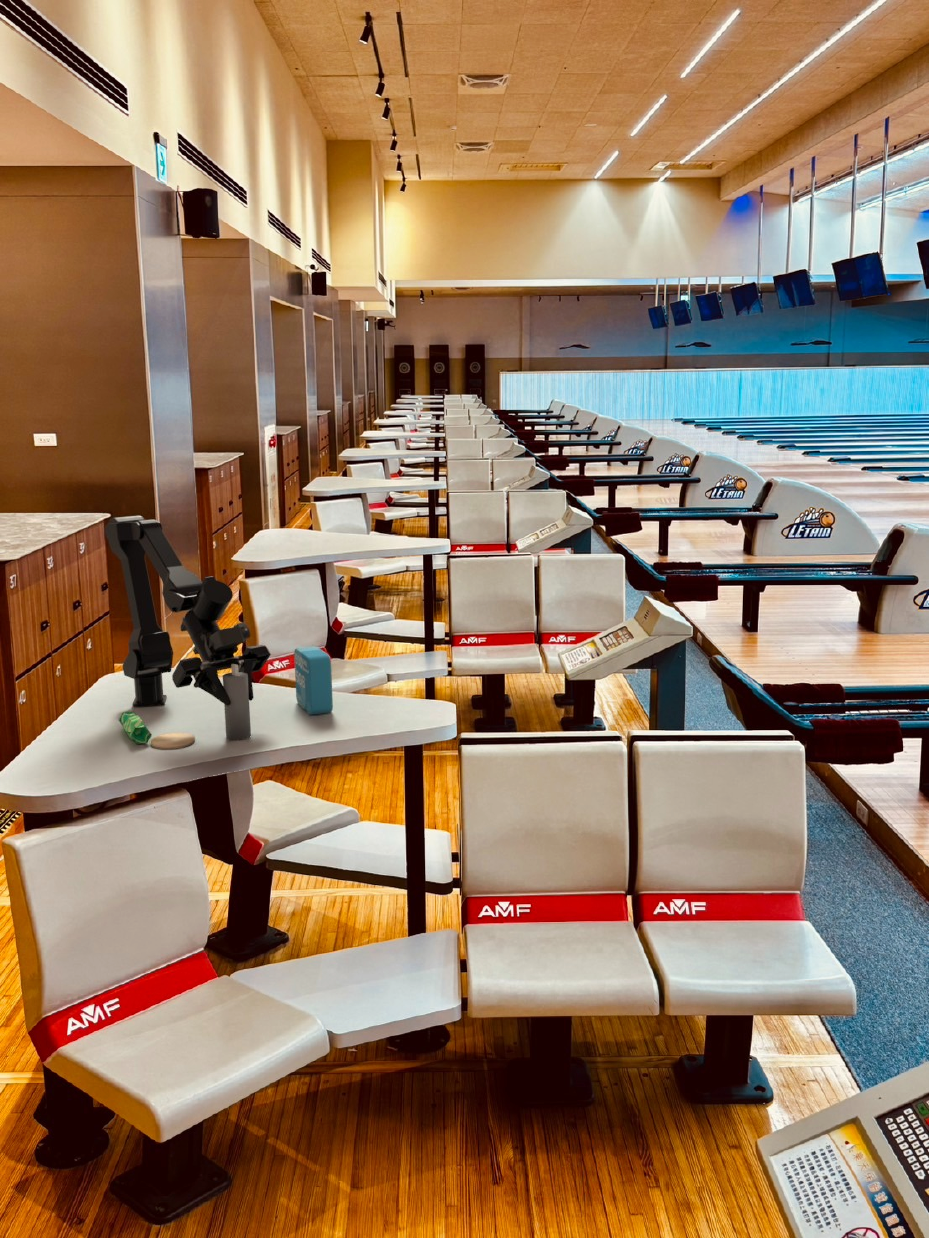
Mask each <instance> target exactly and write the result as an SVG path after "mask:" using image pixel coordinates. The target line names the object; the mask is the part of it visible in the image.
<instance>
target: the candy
mask: <svg viewBox="0 0 929 1238" xmlns="http://www.w3.org/2000/svg"><path fill="white" fill-rule="evenodd" d="M118 722H119V723H120V724H121V725H122V727H123V729H124V731H125V732H126V733H127V735H128V737H129V738H130V739H131V740H133V742H134V743H135V744H136V745H143V744H148V742H149V741H150V739H151V737H152V733H151V731H150V730H149V729H148V728H147V726H146V724H145V723H144V722H143V720H142V718H141V717H140V716H139V715H137V714H136V713H135V712H134V711H123V712H122V713H121V716H120V717H119V719H118Z"/></svg>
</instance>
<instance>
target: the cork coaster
mask: <svg viewBox="0 0 929 1238" xmlns="http://www.w3.org/2000/svg"><path fill="white" fill-rule="evenodd" d="M195 742H196V738H195V735H193V734H191V733H187V732H186V733H185V732H172V733H163V734H161V735H157V736H155V737H153V738H152V739H151V740H150V745H151V747H152V748H154V749H155V748H156V749H159V750H160V749H161V750H173V749H181V748H185V747H188V746H190V745H193V744H194V743H195Z"/></svg>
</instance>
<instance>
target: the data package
mask: <svg viewBox="0 0 929 1238" xmlns="http://www.w3.org/2000/svg"><path fill="white" fill-rule="evenodd" d="M293 655H294V674H295V675H294V677H295V695H296V696H295V697H296V701H297V704H298V705H299V706H300V707H301V708H302V709H304V711H306V713H308V714H309V715H310V716H312V715H319V714H321V715H322V714H327V713H332V712H333V709H334V705H333V701H334V699H333V678H332V677H333V675H332V661H331V660H332V659H331V656H330V655H329V654H328V653H327V652H325V651H323V650H322V648H320V647H318V646H317V645H312V646H303V647H295V648H294V653H293Z"/></svg>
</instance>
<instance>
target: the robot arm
mask: <svg viewBox="0 0 929 1238" xmlns="http://www.w3.org/2000/svg"><path fill="white" fill-rule="evenodd" d="M104 533H105V537H106V539H107V541H108V544H109V549H110V550H111V552H112V553H113V554H114V555H115V556H116V557H117V558H118V559H119V560H120V563H121V568H122V573H123V574H122V575H123V577H124V583H125V589H126V594H127V595H126V596H127V600H128V606H129V611H130V617H131V620H132V625H133V631H132V633H131V636H130V638H129V640H128V651H129V652H128V653H127V656H126V657H125V660H124V662H123V663H122V670H123V674H124V676H125V677H127V678H131V679H132V680H133V682H134V684H133V685H134V694H135V696H134V700H133V701H132V704H131V705H132V707H144V706H145V707H147V706H163V705H165V704H166V700H167V698H168V697H167V694H164V685H163V674H165V673H171V672H172V667H173V666H172V665H173V659H174V651H173V647H172V644H171V643H172V642H171V637H170V633H169V632H168V631H167V630H165V631H164V630H163V629H162V628H161V627H160V626H159V624H158V620H157V615H156V614H157V613H156V609H155V603H154V598H153V594H152V593H153V592H152V588H151V583H150V577H149V572H148V567H147V566H148V565H147V561H146V556H147V557H148V559H149V561H150V562H151V563H152V566H153V567H154V569H155V571H156V573H157V574H158V576H159V577H160V580H161V582H162V584H163V585H162V591H161V592H162V596H163V598H164V603H165V605H166V606H167V607H168V609H169V610H170V611H171V612H172V613H175V614H177V613H185V612H186V613H185V615H184V616H183V617H182V621H181V624H180V631H181V632H187V633H188V635H189V637H190V639H191V641H192V643H193V645H194V647H193V649H192V650H193V651H192V652H193V653H194V655H195V656H194V657H188V658H184V659H180V660H179V662H178V663H177V666H176V667H175V669H174V671H173V673H172V675H171V678H172V682H173V684H174V686H175V687H176V688H178V689H179V688H184V687H188V686H189V687H190V686H191V684H192V683H193V679H194V680H195V681H194V683H193V688H195V689H196V688H199V689H201V690H202V691H204V692H205V693H208V694H209V695H211V696H212V697H214V698H215V699H216V700H218V701H219V702H220V703H222V704H223V705H224V704H225V705H227V706H229V705H230V703H231V702H230V699H229V697H228V695H227V693H226V691H225V689H224V687H223V682H222V681H221V680H220V679H221V678H220V677H219V673H218V671H219V672H220V671H223V670H229V669H231V664H236V665H238V672H243V673H247V674H248V690H249V702H251V701H253V700H254V689H253V681H252V680H253V679H252V673H256V672H260V671H261V670H262V669H263V668H264V666H265V664H266V663H267V662H268V660H269V658H270V657H271V656H272V653H271V652H270V650H269V649H268V647H267V646H266V645H264V644H257V645H252V646H248V647H246V648H245V650H244V651H243V653H242V655H237V656H235V654H237V652H238V650H239V647H238V646H239V645H241V644H245V641H247V640H248V639H249V638H251V632H250V628H249V626H248V625H247V624H246V622H243V621H242V622H238V623H237V624H235V625H233V626H232V627H228V628H220V626H219V624H218V620H220V619H221V618H222V616H223V615H224V614H225V612H226V610H227V608H228V607H229V605H230V603H231V601H232V600H233V596H234V595H233V590H232V588H231V587H230V586H228V585H227V584H225V582H222V581H220V580H216V578H215V576H214V575H213V576H212V575H211V576H207V577H206V576H205V577H204V578H203V579H202V580H201V579H200V578H199V577H198V575H197V574H196V573H193V572H191V571H190V570H188V569H186V568H185V566H184V565H183V564H182V561H181V560H180V558H179V557H178V555H177V553H176V551H175V550H174V548H173V547H172V545H171V544H170V541H169V540H168V538H167V536H166V535H165V533H164V531H163V526H162V524H161V522H160V521H159V520H156V519H145V518H144V517H143V515H142V516H141V515H129V516H120V517H112V518H110V519H109V521H108V523H106V525H105V527H104ZM196 655H198V656H199V657H198V656H196ZM192 676H193V677H192Z"/></svg>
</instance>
